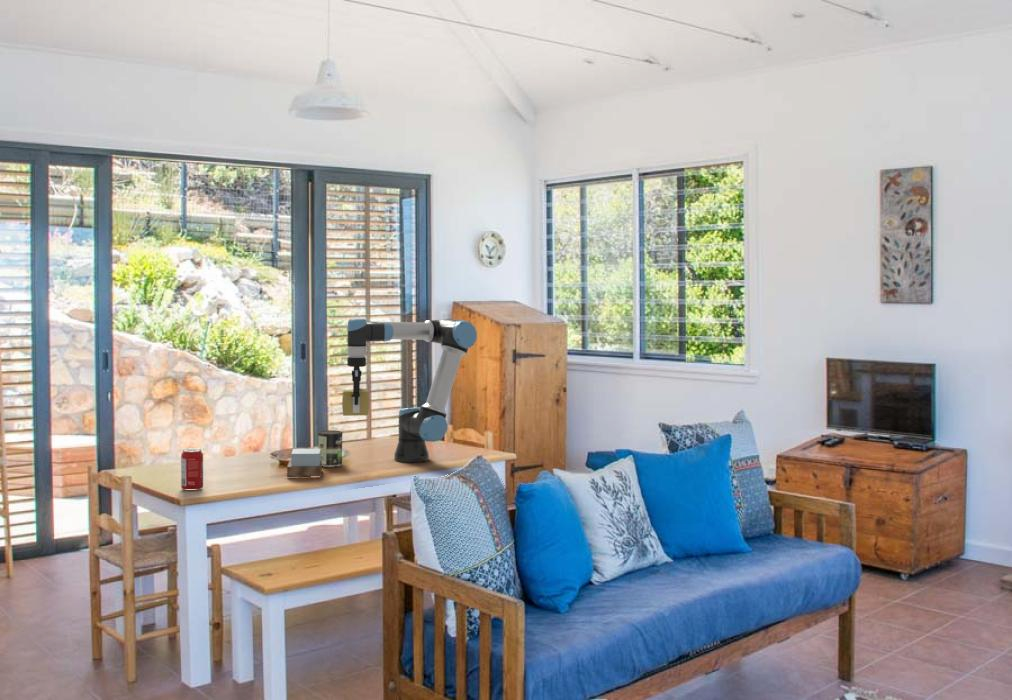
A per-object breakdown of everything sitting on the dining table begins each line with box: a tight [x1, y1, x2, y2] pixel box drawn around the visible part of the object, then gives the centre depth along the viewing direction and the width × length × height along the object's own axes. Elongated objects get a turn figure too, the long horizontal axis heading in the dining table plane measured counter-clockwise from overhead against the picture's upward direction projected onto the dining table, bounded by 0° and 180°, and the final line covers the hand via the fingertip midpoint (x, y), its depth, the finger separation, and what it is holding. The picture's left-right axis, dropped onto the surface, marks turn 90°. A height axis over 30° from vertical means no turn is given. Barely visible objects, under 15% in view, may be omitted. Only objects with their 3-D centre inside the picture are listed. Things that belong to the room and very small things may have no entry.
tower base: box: [286, 460, 323, 478], centre depth 410 cm, size 13×13×5 cm
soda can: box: [180, 448, 204, 490], centre depth 379 cm, size 8×8×15 cm
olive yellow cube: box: [341, 388, 370, 417], centre depth 414 cm, size 10×11×10 cm
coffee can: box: [317, 429, 344, 468], centre depth 431 cm, size 10×10×14 cm
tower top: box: [290, 448, 321, 466], centre depth 410 cm, size 11×11×5 cm
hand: (356, 410), depth 414 cm, fingers closed on olive yellow cube, 10 cm apart
